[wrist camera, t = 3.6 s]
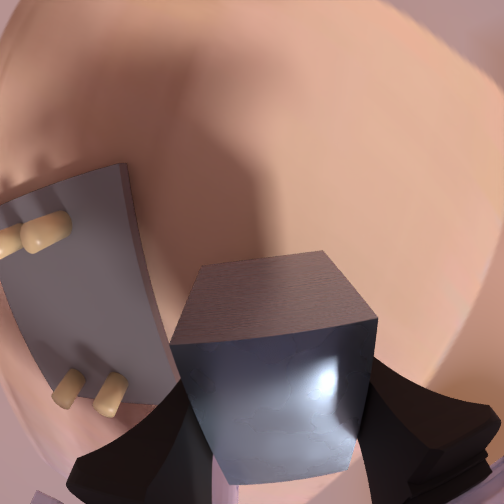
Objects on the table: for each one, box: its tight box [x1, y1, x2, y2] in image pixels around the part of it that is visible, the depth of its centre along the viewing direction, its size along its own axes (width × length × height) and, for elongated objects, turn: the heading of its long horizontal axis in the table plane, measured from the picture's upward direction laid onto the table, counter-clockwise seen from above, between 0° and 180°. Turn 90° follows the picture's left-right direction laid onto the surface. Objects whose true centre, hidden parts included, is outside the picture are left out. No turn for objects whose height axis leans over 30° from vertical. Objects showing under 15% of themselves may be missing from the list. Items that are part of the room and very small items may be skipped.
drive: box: [169, 250, 378, 485], centre depth 10 cm, size 8×5×6 cm, turn 7°
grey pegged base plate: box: [0, 163, 181, 418], centre depth 14 cm, size 16×13×4 cm
